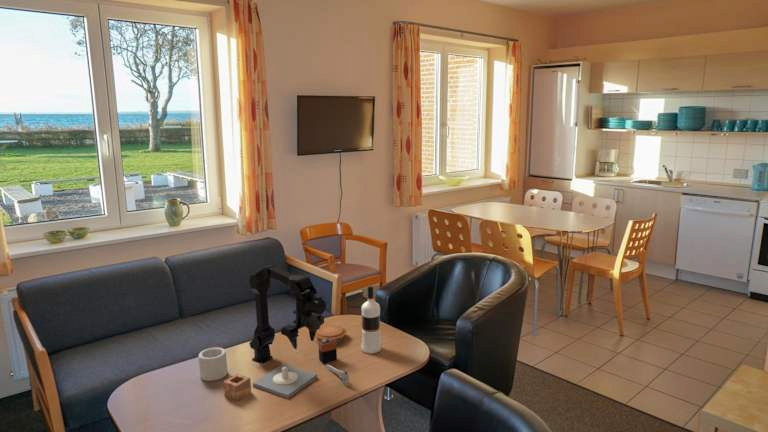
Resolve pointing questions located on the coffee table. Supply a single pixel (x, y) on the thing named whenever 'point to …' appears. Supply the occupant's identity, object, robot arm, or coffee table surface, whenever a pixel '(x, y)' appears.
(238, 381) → the collar
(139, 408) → the coffee table surface
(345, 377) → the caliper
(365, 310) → the vodka
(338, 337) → the pie
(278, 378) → the post board
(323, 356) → the battery
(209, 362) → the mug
